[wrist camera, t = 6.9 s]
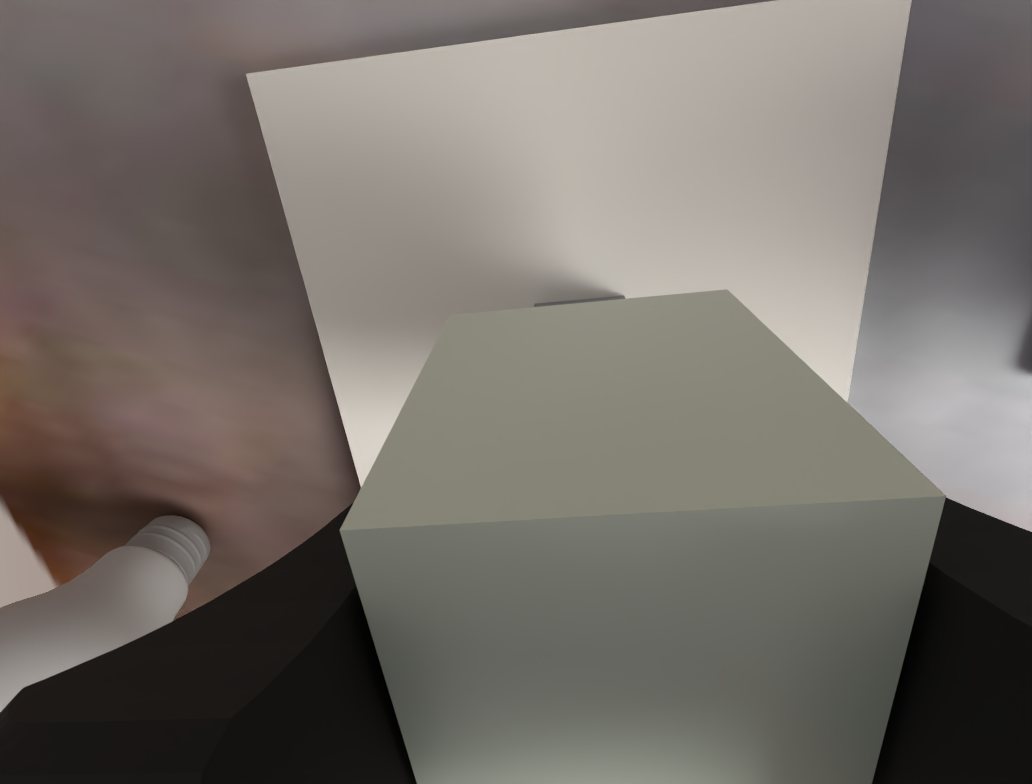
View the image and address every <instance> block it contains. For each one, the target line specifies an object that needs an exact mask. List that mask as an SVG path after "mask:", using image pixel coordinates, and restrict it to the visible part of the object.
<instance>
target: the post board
mask: <svg viewBox="0 0 1032 784" xmlns="http://www.w3.org/2000/svg"><path fill="white" fill-rule="evenodd" d="M911 1H912V0H775V1H768V2H760V3H753V4H746V5H739V6H731V7H724V8H717V9H710V10H703V11H695V12H688V13H681V14H674V15H666V16H659V17H652V18H645V19H637V20H630V21H623V22H616V23H609V24H601V25H594V26H587V27H580V28H572V29H565V30H558V31H551V32H543V33H536V34H529V35H522V36H514V37H507V38H500V39H493V40H486V41H478V42H471V43H464V44H457V45H449V46H442V47H435V48H428V49H420V50H413V51H406V52H399V53H391V54H384V55H377V56H370V57H363V58H355V59H348V60H341V61H334V62H326V63H319V64H312V65H305V66H297V67H290V68H283V69H276V70H268V71H261V72H254V73H247V74H246V76H247V80H248V84H249V87H250V91H251V94H252V98H253V102H254V105H255V109H256V112H257V116H258V119H259V123H260V127H261V130H262V134H263V137H264V141H265V145H266V148H267V152H268V155H269V159H270V163H271V166H272V170H273V173H274V177H275V180H276V184H277V188H278V191H279V195H280V198H281V202H282V206H283V209H284V213H285V216H286V220H287V224H288V227H289V231H290V234H291V238H292V241H293V245H294V249H295V252H296V256H297V259H298V263H299V267H300V270H301V274H302V277H303V281H304V285H305V288H306V292H307V295H308V299H309V303H310V306H311V310H312V313H313V317H314V320H315V324H316V328H317V331H318V335H319V338H320V342H321V346H322V349H323V353H324V356H325V360H326V364H327V367H328V371H329V374H330V378H331V381H332V385H333V389H334V392H335V396H336V399H337V403H338V407H339V410H340V414H341V417H342V421H343V425H344V428H345V432H346V435H347V439H348V442H349V446H350V450H351V453H352V457H353V460H354V464H355V468H356V471H357V475H358V478H359V482H360V486H361V487H362V485H363V483H364V481H365V479H366V478H367V476H368V474H369V472H370V470H371V468H372V466H373V464H374V462H375V460H376V458H377V456H378V454H379V452H380V450H381V448H382V446H383V444H384V442H385V440H386V438H387V436H388V434H389V432H390V431H391V429H392V427H393V425H394V423H395V421H396V419H397V417H398V415H399V413H400V411H401V409H402V407H403V405H404V403H405V401H406V399H407V397H408V395H409V393H410V391H411V389H412V387H413V385H414V384H415V382H416V380H417V378H418V376H419V374H420V372H421V370H422V368H423V366H424V364H425V362H426V360H427V358H428V356H429V354H430V352H431V350H432V348H433V346H434V344H435V342H436V340H437V338H438V336H439V335H440V333H441V331H442V329H443V327H444V325H445V323H446V321H447V319H448V317H449V315H455V314H465V313H476V312H487V311H498V310H509V309H520V308H530V307H541V306H552V305H563V304H574V303H585V302H596V301H606V300H617V299H628V298H639V297H650V296H661V295H671V294H682V293H693V292H704V291H715V290H726V289H727V290H729V291H730V292H731V293H732V294H733V295H734V296H735V297H736V298H737V299H738V300H739V301H740V302H741V303H742V304H743V305H744V306H745V307H747V308H748V309H749V310H750V311H751V312H752V313H753V314H754V315H755V316H756V317H757V318H758V319H759V320H760V321H761V322H762V323H763V324H765V325H766V326H767V327H768V328H769V329H770V330H771V331H772V332H773V333H774V334H775V335H776V336H777V337H778V338H779V339H780V340H781V341H783V342H784V343H785V344H786V345H787V346H788V347H789V348H790V349H791V350H792V351H793V352H794V353H795V354H796V355H797V356H798V357H799V358H801V359H802V360H803V361H804V362H805V363H806V364H807V365H808V366H809V367H810V368H811V369H812V370H813V371H814V372H815V373H816V374H817V375H819V376H820V377H821V378H822V379H823V380H824V381H825V382H826V383H827V384H828V385H829V386H830V387H831V388H832V389H833V390H834V391H835V392H837V393H838V394H839V395H840V396H841V397H842V398H843V399H844V400H845V401H846V402H848V396H849V390H850V384H851V377H852V371H853V365H854V359H855V352H856V346H857V340H858V333H859V327H860V321H861V315H862V308H863V302H864V296H865V290H866V283H867V277H868V271H869V265H870V258H871V252H872V246H873V239H874V233H875V227H876V221H877V214H878V208H879V202H880V196H881V189H882V183H883V177H884V171H885V164H886V158H887V152H888V146H889V139H890V133H891V127H892V120H893V114H894V108H895V102H896V95H897V89H898V83H899V77H900V70H901V64H902V58H903V52H904V45H905V39H906V33H907V26H908V20H909V14H910V8H911Z"/></svg>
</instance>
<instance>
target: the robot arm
mask: <svg viewBox="0 0 1032 784" xmlns="http://www.w3.org/2000/svg"><path fill="white" fill-rule="evenodd" d="M353 503H354V502H353ZM353 503H352V504H351V505H350V506H349V507H347V508H346V509H345V510H344V511H343V512H341V513H340V514H339V515H338V516H337V517H336V518H334V519H333V520H332V521H331V522H330V523H328V524H327V525H326V526H325V527H324V528H322V529H321V530H320V531H318V532H317V533H316V534H314V535H313V536H312V537H310V538H309V539H308V540H306V541H305V542H304V543H302V544H301V545H299V546H298V547H297V548H295V549H294V550H292V551H291V552H289V553H288V554H286V555H285V556H284V557H282V558H281V559H279V560H278V561H276V562H275V563H273V564H272V565H270V566H269V567H267V568H266V569H264V570H262V571H261V572H259V573H257V574H256V575H254V576H252V577H251V578H249V579H247V580H246V581H244V582H242V583H241V584H239V585H237V586H236V587H234V588H232V589H230V590H229V591H227V592H225V593H224V594H222V595H220V596H219V597H217V598H215V599H214V600H212V601H210V602H208V603H207V604H205V605H203V606H201V607H199V608H197V609H195V610H193V611H192V612H190V613H188V614H186V615H184V616H182V617H180V618H178V619H176V620H174V621H172V622H170V623H168V624H166V625H164V626H162V627H160V628H158V629H156V630H154V631H152V632H150V633H148V634H146V635H144V636H142V637H140V638H138V639H136V640H133V641H131V642H129V643H127V644H125V645H123V646H121V647H118V648H116V649H114V650H112V651H109V652H107V653H105V654H102V655H100V656H98V657H95V658H93V659H91V660H88V661H86V662H84V663H81V664H79V665H77V666H74V667H72V668H70V669H67V670H65V671H63V672H60V673H58V674H56V675H53V676H51V677H49V678H46V679H44V680H41V681H39V682H36V683H34V684H31V685H29V686H26V687H24V688H23V689H21V690H20V691H19V693H18V694H17V695H16V696H15V697H14V698H13V699H12V700H11V701H10V702H9V703H8V705H7V706H6V707H5V708H4V709H3V710H2V711H1V712H0V784H417V782H416V779H415V775H414V772H413V769H412V766H411V762H410V759H409V756H408V753H407V749H406V746H405V743H404V739H403V736H402V733H401V730H400V726H399V723H398V720H397V717H396V713H395V710H394V707H393V704H392V700H391V697H390V694H389V690H388V687H387V684H386V681H385V677H384V674H383V671H382V668H381V664H380V661H379V658H378V654H377V651H376V648H375V645H374V641H373V638H372V635H371V632H370V628H369V625H368V622H367V619H366V615H365V612H364V609H363V605H362V602H361V599H360V596H359V592H358V589H357V586H356V583H355V579H354V576H353V573H352V569H351V566H350V563H349V560H348V556H347V553H346V550H345V547H344V543H343V540H342V537H341V534H340V528H341V526H342V525H343V523H344V521H345V519H346V517H347V515H348V513H349V511H350V509H351V507H352V505H353ZM872 784H1032V532H1030V531H1027V530H1025V529H1022V528H1019V527H1017V526H1014V525H1012V524H1009V523H1007V522H1004V521H1002V520H999V519H997V518H994V517H992V516H989V515H986V514H984V513H981V512H979V511H976V510H974V509H971V508H969V507H967V506H964V505H962V504H960V503H957V502H955V501H953V500H950V499H948V498H945V502H944V506H943V510H942V514H941V518H940V522H939V526H938V529H937V533H936V537H935V541H934V545H933V549H932V553H931V557H930V560H929V564H928V568H927V572H926V576H925V580H924V584H923V588H922V591H921V595H920V599H919V603H918V607H917V611H916V615H915V618H914V622H913V626H912V630H911V634H910V638H909V642H908V646H907V649H906V653H905V657H904V661H903V665H902V669H901V673H900V677H899V680H898V684H897V688H896V692H895V696H894V700H893V704H892V707H891V711H890V715H889V719H888V723H887V727H886V731H885V735H884V738H883V742H882V746H881V750H880V754H879V758H878V762H877V766H876V769H875V773H874V777H873V781H872Z"/></svg>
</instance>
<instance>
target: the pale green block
mask: <svg viewBox="0 0 1032 784" xmlns="http://www.w3.org/2000/svg"><path fill="white" fill-rule="evenodd" d="M945 498H946V495H945V494H943V493H942V492H941V491H940V490H939V489H938V488H937V487H936V486H935V485H934V484H933V483H932V482H931V481H930V480H929V479H928V478H927V477H925V476H924V475H923V474H922V473H921V472H920V471H919V470H918V469H917V468H916V467H915V466H914V465H913V464H912V463H911V462H910V461H909V460H907V459H906V458H905V457H904V456H903V455H902V454H901V453H900V452H899V451H898V450H897V449H896V448H895V447H894V446H893V445H892V444H891V443H889V442H888V441H887V440H886V439H885V438H884V437H883V436H882V435H881V434H880V433H879V432H878V431H877V430H876V429H875V428H874V427H873V426H871V425H870V424H869V423H868V422H867V421H866V420H865V419H864V418H863V417H862V416H861V415H860V414H859V413H858V412H857V411H856V410H855V409H853V408H852V407H851V406H850V405H849V404H848V403H847V402H846V401H845V400H844V399H843V398H842V397H841V396H840V395H839V394H838V393H837V392H835V391H834V390H833V389H832V388H831V387H830V386H829V385H828V384H827V383H826V382H825V381H824V380H823V379H822V378H821V377H820V376H819V375H817V374H816V373H815V372H814V371H813V370H812V369H811V368H810V367H809V366H808V365H807V364H806V363H805V362H804V361H803V360H802V359H801V358H799V357H798V356H797V355H796V354H795V353H794V352H793V351H792V350H791V349H790V348H789V347H788V346H787V345H786V344H785V343H784V342H783V341H781V340H780V339H779V338H778V337H777V336H776V335H775V334H774V333H773V332H772V331H771V330H770V329H769V328H768V327H767V326H766V325H765V324H763V323H762V322H761V321H760V320H759V319H758V318H757V317H756V316H755V315H754V314H753V313H752V312H751V311H750V310H749V309H748V308H747V307H745V306H744V305H743V304H742V303H741V302H740V301H739V300H738V299H737V298H736V297H735V296H734V295H733V294H732V293H731V292H730V291H729V290H727V289H726V290H715V291H704V292H693V293H682V294H671V295H661V296H650V297H639V298H628V299H617V300H606V301H596V302H585V303H574V304H563V305H552V306H541V307H530V308H520V309H509V310H498V311H487V312H476V313H465V314H455V315H449V317H448V319H447V321H446V323H445V325H444V327H443V329H442V331H441V333H440V335H439V336H438V338H437V340H436V342H435V344H434V346H433V348H432V350H431V352H430V354H429V356H428V358H427V360H426V362H425V364H424V366H423V368H422V370H421V372H420V374H419V376H418V378H417V380H416V382H415V384H414V385H413V387H412V389H411V391H410V393H409V395H408V397H407V399H406V401H405V403H404V405H403V407H402V409H401V411H400V413H399V415H398V417H397V419H396V421H395V423H394V425H393V427H392V429H391V431H390V432H389V434H388V436H387V438H386V440H385V442H384V444H383V446H382V448H381V450H380V452H379V454H378V456H377V458H376V460H375V462H374V464H373V466H372V468H371V470H370V472H369V474H368V476H367V478H366V479H365V481H364V483H363V485H362V487H361V489H360V491H359V493H358V495H357V497H356V499H355V501H354V503H353V505H352V507H351V509H350V511H349V513H348V515H347V517H346V519H345V521H344V523H343V525H342V526H341V528H340V534H341V537H342V540H343V543H344V547H345V550H346V553H347V556H348V560H349V563H350V566H351V569H352V573H353V576H354V579H355V583H356V586H357V589H358V592H359V596H360V599H361V602H362V605H363V609H364V612H365V615H366V619H367V622H368V625H369V628H370V632H371V635H372V638H373V641H374V645H375V648H376V651H377V654H378V658H379V661H380V664H381V668H382V671H383V674H384V677H385V681H386V684H387V687H388V690H389V694H390V697H391V700H392V704H393V707H394V710H395V713H396V717H397V720H398V723H399V726H400V730H401V733H402V736H403V739H404V743H405V746H406V749H407V753H408V756H409V759H410V762H411V766H412V769H413V772H414V775H415V779H416V782H417V784H872V781H873V777H874V773H875V769H876V766H877V762H878V758H879V754H880V750H881V746H882V742H883V738H884V735H885V731H886V727H887V723H888V719H889V715H890V711H891V707H892V704H893V700H894V696H895V692H896V688H897V684H898V680H899V677H900V673H901V669H902V665H903V661H904V657H905V653H906V649H907V646H908V642H909V638H910V634H911V630H912V626H913V622H914V618H915V615H916V611H917V607H918V603H919V599H920V595H921V591H922V588H923V584H924V580H925V576H926V572H927V568H928V564H929V560H930V557H931V553H932V549H933V545H934V541H935V537H936V533H937V529H938V526H939V522H940V518H941V514H942V510H943V506H944V502H945Z"/></svg>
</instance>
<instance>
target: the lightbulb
mask: <svg viewBox="0 0 1032 784" xmlns="http://www.w3.org/2000/svg"><path fill="white" fill-rule="evenodd" d="M209 553H210V543H209V539H208V537H207V534H206V533H205V532H204V530H203V529H202V528H201V527H200V526H199V525H197V524H196V523H195V522H193V521H191V520H189V519H187V518H184V517H181V516H174V515H169V516H161V517H157V518H155V519H154V520H152V521H151V522H150V523H149V524H148V525H146V526H145V527H144V528H142V529H141V530H140V531H139V532H138V533H137V534H136V535H135V536H133V537H132V538H131V539H130V540H129V542H128V543H126V544H125V545H124V546H122V547H119V548H116V549H114V550H112V551H110V552H108V553H106V554H105V555H104V556H103V557H102V558H100V559H99V560H98V561H97V562H96V563H95V564H94V565H92V566H91V567H90V568H89V569H87V570H86V571H84V572H83V573H81V574H80V575H78V576H77V577H75V578H74V579H72V580H71V581H69V582H67V583H65V584H63V585H61V586H59V587H57V588H55V589H53V590H51V591H49V592H46V593H43V594H40V595H37V596H34V597H31V598H27V599H24V600H21V601H18V602H15V603H12V604H9V605H7V606H4V607H2V608H0V712H1V711H2V710H3V709H4V708H5V707H6V706H7V705H8V703H9V702H10V701H11V700H12V699H13V698H14V697H15V696H16V695H17V694H18V693H19V691H20V690H21V689H23V688H24V687H26V686H29V685H31V684H34V683H36V682H39V681H41V680H44V679H46V678H49V677H51V676H53V675H56V674H58V673H60V672H63V671H65V670H67V669H70V668H72V667H74V666H77V665H79V664H81V663H84V662H86V661H88V660H91V659H93V658H95V657H98V656H100V655H102V654H105V653H107V652H109V651H112V650H114V649H116V648H118V647H121V646H123V645H125V644H127V643H129V642H131V641H133V640H136V639H138V638H140V637H142V636H144V635H146V634H148V633H150V632H152V631H154V630H156V629H158V628H160V627H162V626H164V625H166V624H168V623H170V622H172V621H173V619H174V617H175V616H176V614H177V613H178V611H179V610H180V608H181V606H182V605H183V603H184V602H185V600H186V597H187V594H188V585H189V584H190V583H191V582H192V581H193V579H194V577H195V576H196V575H197V573H198V572H199V570H200V568H201V567H202V566H203V564H204V563H205V561H206V559H207V557H208V556H209Z"/></svg>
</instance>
